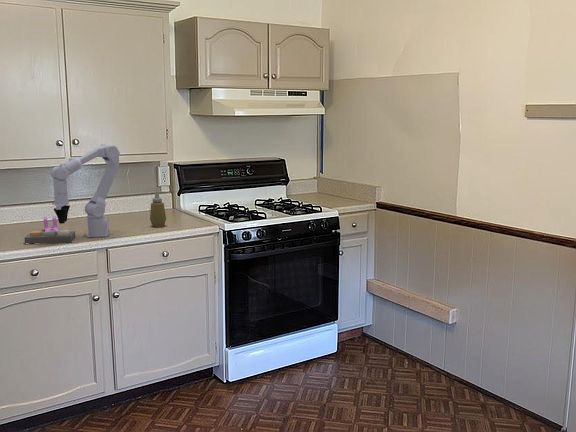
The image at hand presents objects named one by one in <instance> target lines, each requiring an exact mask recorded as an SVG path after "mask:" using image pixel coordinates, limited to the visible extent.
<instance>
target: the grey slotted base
mask: <svg viewBox="0 0 576 432" xmlns="http://www.w3.org/2000/svg"><path fill="white" fill-rule="evenodd" d="M44 232H45V231H44ZM44 232H43V235H42V236H30V233H28V234H27V235H25V237H24V238H23V239H24V244H25V243H46V244H69V243H72V242H73V241H74V240H75V239H76V236H77V235H76V231H75V230H73V231H72V230H71V231H70V234H69V235H58V232H56V235H55V236H44Z"/></svg>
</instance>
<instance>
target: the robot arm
mask: <svg viewBox="0 0 576 432" xmlns="http://www.w3.org/2000/svg"><path fill="white" fill-rule="evenodd" d="M120 154H121V152H120V150H119V149H118V147H117V146H116V145H115V144H107V143H102V144H100V145H97V146H95V147H94V148H93V149H91V150H89V151H88V152H86V153H85V154H83V155H81V156H80V157H78V158H77V157H70V158H69V159H68V160H66V161H65V162H63V163H59V166H55V167H53V168H51V171H50V172H49V173H50V176H51V178H52V180H53V181H52V183H53V197H54V202H52V204H51V205H54V206H55V207H54V208H53V211H54V213H55V216H56V218H57V221H58V223H59V224H60V225H61V224H62V225H63V224H65V222H68V215H69V210H70V207H71V205H69V204H70V202H69V197H68V196H69V195H68V183H67V179H68V177H69V176H70V175H72V174H74V173H75V172H77V171H78V170H81V168H82V166H83V165H84V164H86V163H88V162H90V161H92V160H94V159H97V158H102V159H103V161H104V162H105V164H106V167H105V169H104V172H103V175H102V177H101V178H100V181H99V184H98V186H97V188H96V190H95V192H94V195H93V196H92V197H91V198H90V199H89V201H88V202H87V203H86V204H85V205H84V212H85V213H86V215H87V218H86V219H87V230H88V231H87V232H88V233H87V235H86V238H97V237H98V238H101V237H105V238H107V237H108V235H110V224H109V217H108V216H104V215H105V212H106V206H107V202H106V199H107V197H108V194H109V193H110V189H111V187H112V184H113V183H114V180H115V177H116V175H117V173H118V170H119V168H120Z"/></svg>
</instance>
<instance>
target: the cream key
mask: <svg viewBox="0 0 576 432" xmlns="http://www.w3.org/2000/svg"><path fill="white" fill-rule="evenodd" d="M58 230H59V231H58V235H69V234H70V232H71V230H70V229H58Z"/></svg>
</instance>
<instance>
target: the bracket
mask: <svg viewBox="0 0 576 432" xmlns="http://www.w3.org/2000/svg"><path fill="white" fill-rule="evenodd" d="M57 221H58V220H57V215H53V216H52V226H48V225H49V224H48V223H49V221H48V217H47V216H44V217H43V227H44V228H43V229H44V232H45V231H46V230H56V232H58V231H59V230H60V229H58V224H57V223H58V222H57Z"/></svg>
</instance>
